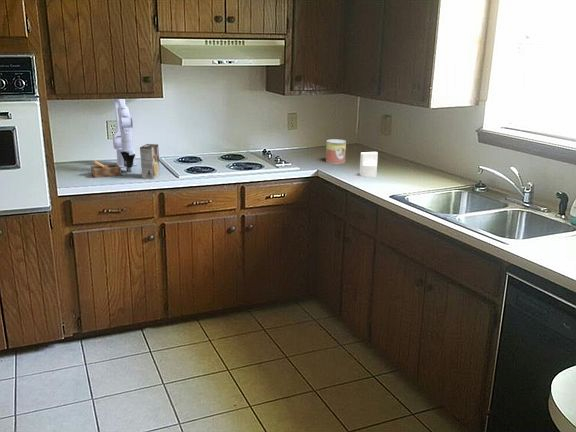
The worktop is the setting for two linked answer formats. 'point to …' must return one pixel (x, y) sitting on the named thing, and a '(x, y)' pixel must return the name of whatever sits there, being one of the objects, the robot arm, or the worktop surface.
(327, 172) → the worktop surface
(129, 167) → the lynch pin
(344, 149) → the canned food
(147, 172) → the coffee box
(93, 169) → the hitch block
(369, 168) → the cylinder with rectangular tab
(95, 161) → the block
